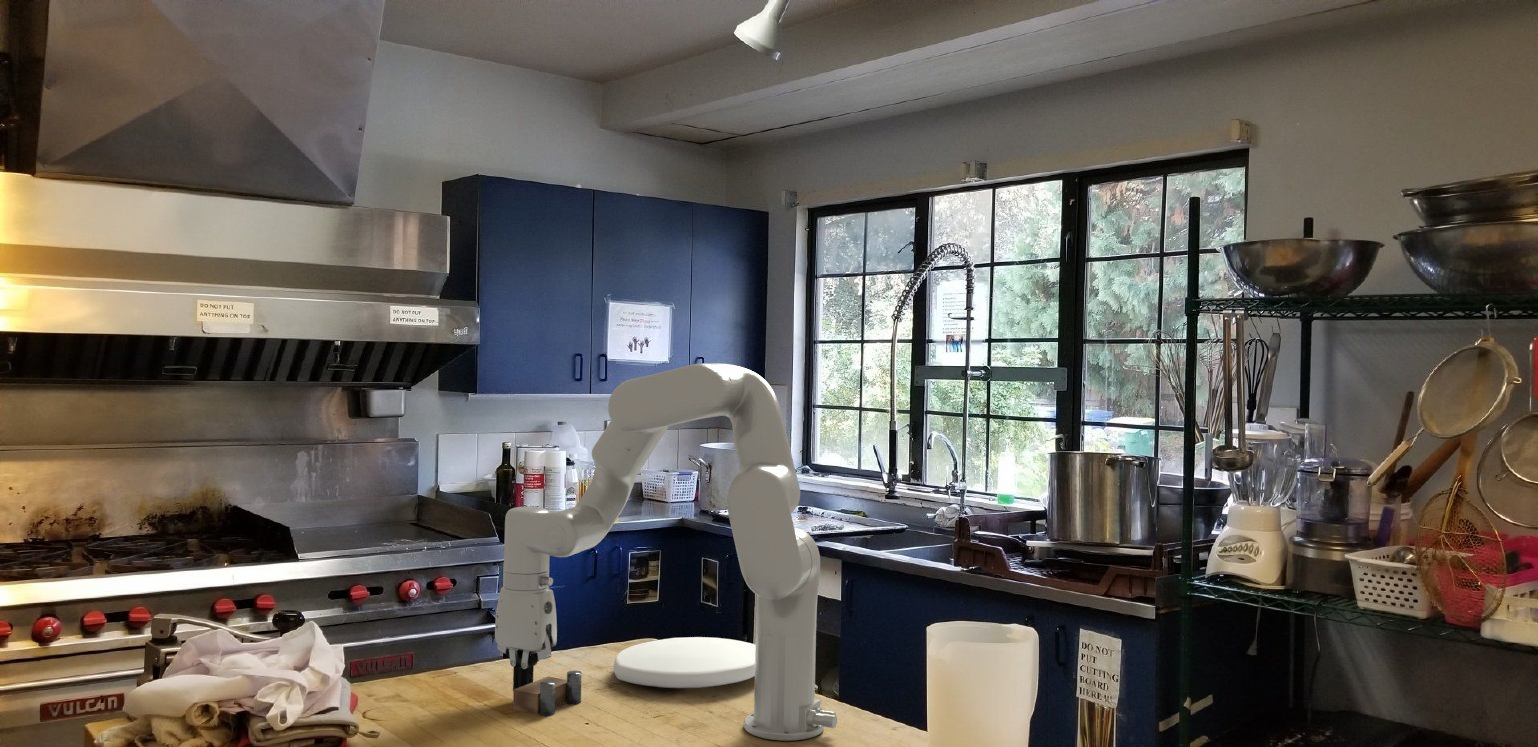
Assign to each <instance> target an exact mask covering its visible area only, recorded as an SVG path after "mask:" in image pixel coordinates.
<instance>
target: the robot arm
mask: <svg viewBox="0 0 1538 747" xmlns="http://www.w3.org/2000/svg"><path fill="white" fill-rule="evenodd" d="M607 407H608V408H607V409H608V414H609V415H608V416H609V418H610V421H609V423H608V424H607V426H606V428H605V430H604V431H603V432H602V434H601V435H600V437H599V438H598V440H597V441H596V443H595V444H594V446H593V447H592V449H591V458H592V460H593V462H594V473H593V477H592V479H591V481H590V483H589V484H588V487H587V488H586V490H585V491H584V493H583V495H582V496H581V497H580V498H579V500H578V502H577V503H576V505H575V506H573V507H570V508H565V509H563V510H559V511H555V512H550V511H549V510H548V509H546V508H544V507H538V506H518V507H513V508H510V509H508V511H507V512H506V514H505V520H504V543H503V544H504V545H503V546H504V550H503V551H504V552H503V580H502V582H503V583H502V584H503V586H502V587H501V588H500V591H499V594H498V600H497V606H496V612H495V621H494V622H495V625H494V626H495V627H494V637H495V643H497V646H496V648H497V650H498V651H500V652H501V653H503V654H505V655H506V656H507V658H508V659H509V663H510V664H509V665H510V666H511V667H513V670H512V671H513V672H512V673H513V676H512V680H513V681H512V683H513V684H512V689H513V690H514V689H516V688H519V687H522V686H524V685H527V684H530V683H532V682H534V666H537V664H538V662H539V661H541V660H547V659H550V658H551V657H552V649H551V648H554V647H556V646H557V641H558V639H557V637H558V634H557V633H558V627H557V626H558V624H557V621H558V620H557V608H556V600H555V595H554V591H553V590H552V589H550V586H552V585H553V583H554V579H553V577H550V558H551V557H556V558H568V557H570V556H573V555H575V554H579V553H581V552H584V551H587V550H590V549H592V548H594V547H595V546H597V545H598V544H599V543H601V542H602V540H604V538H605V537H606V536H607V534H608V533H609V532H610V530H611V529H612V527H613V525H614V524H615V522H617V521H618V518H619V516H620V515H621V514H622V512H623V511H624V508H625V507H626V504H627V502H628V501H629V498H630V496H631V493H632V489H633V488H634V485H635V481H636V478H637V476H638V474H639V472H640V471H641V469H642V467H643V466H644V465H645V463H646V462H647V460H648V459H649V457H650V456H651V454H652V453H653V451H654V449H655V448H656V446H658V443H659V442H660V441H661V439H662V438H663V436H664V435H665V433H666V431H667V430H668V429H669V427H670V426H675V425H679V424H683V423H686V422H687V423H688V422H692V421H696V420H697V421H698V420H701V419H707V418H715V417H720V416H721V417H722V416H724V417H727V418H728V419H729V420H730V422H731V425H732V436H733V437H732V439H733V445H734V446H733V447H734V449H735V453H736V457H737V461H738V462H737V463H738V467H739V471H738V472H737V473H736V474H735V475H734V476H733V478H732V480H731V482H730V483H729V485H728V490H727V495H726V506H727V512H728V513H727V514H728V518H729V523H730V527H731V532H732V536H733V537H732V538H733V541H734V545H735V550H736V554H737V558H738V559H737V560H738V563H739V568H740V571H741V574H742V577H743V579H744V581H745V583H746V585H747V587H748V588H749V589H750V590H751V591H752V592H753V593H754V594H755V595H757V600H756V616H755V617H756V618H755V643H754V644H755V676H754V696H753V698H754V700H753V701H754V702H753V703H754V705H753V712H752V713H750V714H748V715H747V716H746V717H745V718H744V720H743V728H744V729H745V731H746V732H748V733H749V734H751V735H752V736H754V737H758V738H760V739H765V740H771V741H772V740H773V741H800V740H801V741H803V740H806V739H807V740H808V739H811V738H814V737H817V736H818V735H820V734H821V733H823V732H824V728H828V729H835V728H836V727H837V724H838V717H837V714H836V713H837V712H836V711H831V710H824V709H823V708H822V707H821V699H818V698H815V697H816V692H815V691H816V690H815V688H816V652H817V651H816V647H817V642H816V641H817V613H818V612H817V611H818V593H819V583H820V577H821V576H820V574H821V555H820V551H819V547H818V545H817V542H816V541H815V539H814V538H813V537H812V536H811V535H810V534H809V533H808V532H807V531H805V530H803V529H800V528H797V527H795V525H794V521H793V515H792V513H794V511H795V510H796V509H797V507H798V505H799V502H800V500H801V487H800V482H799V479H798V476H797V473H796V472H797V471H796V468H795V464H794V459H793V454H792V451H791V446H790V443H789V439H788V435H787V431H786V427H785V422H784V418H783V414H782V410H781V407H780V403H779V400H778V398H777V395H776V393H775V392H774V390H773V388H772V387H771V385H770V384H769V383H768V382H767V381H766V380H765V379H764V378H763V377H762V376H761V375H759V374H758V373H756V372H755V371H752V370H751V369H748V368H745V367H742V366H739V365H735V364H729V363H723V362H721V363H720V362H717V363H716V362H715V363H714V362H712V363H709V362H704V363H701V362H700V363H694V364H689V365H686V366H681V367H677V368H674V369H669V370H665V371H661V372H657V373H653V374H648V375H644V376H640V377H635V378H631V379H627V380H624V381H623V382H621V383H620V384H618V385H617V386H616V387H615V389H614V390H613V391H612V393H611V394H610V396H609V400H608V404H607ZM550 556H551V557H550ZM513 690H512V691H513Z"/></svg>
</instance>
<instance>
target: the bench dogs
mask: <svg viewBox="0 0 1538 747" xmlns="http://www.w3.org/2000/svg"><path fill="white" fill-rule="evenodd" d="M566 680H567V699H566V702H565V704H568V705H578V704H581V703H582V671H580V670H570V671H567V672H566ZM555 713H556V707H555V682H554V681H543V682H541V683H540V713H539V715H540V716H544V717H548V716H549V717H551V716H554V715H555Z"/></svg>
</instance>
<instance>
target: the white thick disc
mask: <svg viewBox="0 0 1538 747" xmlns="http://www.w3.org/2000/svg"><path fill="white" fill-rule="evenodd" d="M613 671H614V672H613V673H614V675H615V677H616V678H617V679H618V680H619V681H623V682H626V683H630V684H635V685H640V686H647V687H657V688H664V689H665V688H669V689H697V688H709V687H716V686H723V685H728V684H734V683H740V682H744V681H747V680H749V679H751V678H753V677H755V643H751V642H746V641H742V640H737V639H731V638H721V637H708V636H707V637H705V636H704V637H703V636H694V637H693V636H692V637H691V636H689V637H671V638H663V639H658V640H657V639H656V640H653V641H648V642H647V641H645V642H642V643H638V644H635V645H631V646H628V647H627V648H625V649H622V650H621V651H620V652H618V653H617V654H616V656H615V658H614V662H613Z"/></svg>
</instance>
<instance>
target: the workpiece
mask: <svg viewBox="0 0 1538 747" xmlns="http://www.w3.org/2000/svg"><path fill="white" fill-rule="evenodd" d="M543 681H554V682H555V708H556V707H558V706H560V705H563V704H566V699H567V679H564V678H559V677H554V676H546V677H543V678H541V679H538V680H535V681H533V682H532V683H530V684H527V685H524V686H522V687H519V688H516V689H514V690H512V691H513V696H512V698H513V699H512V701H513V702H512V703H513V704H512V706H513V707H512V710H514V711H519V712H524V713H529V714H533V715H534V714H535V715H540V683H541V682H543Z"/></svg>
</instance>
